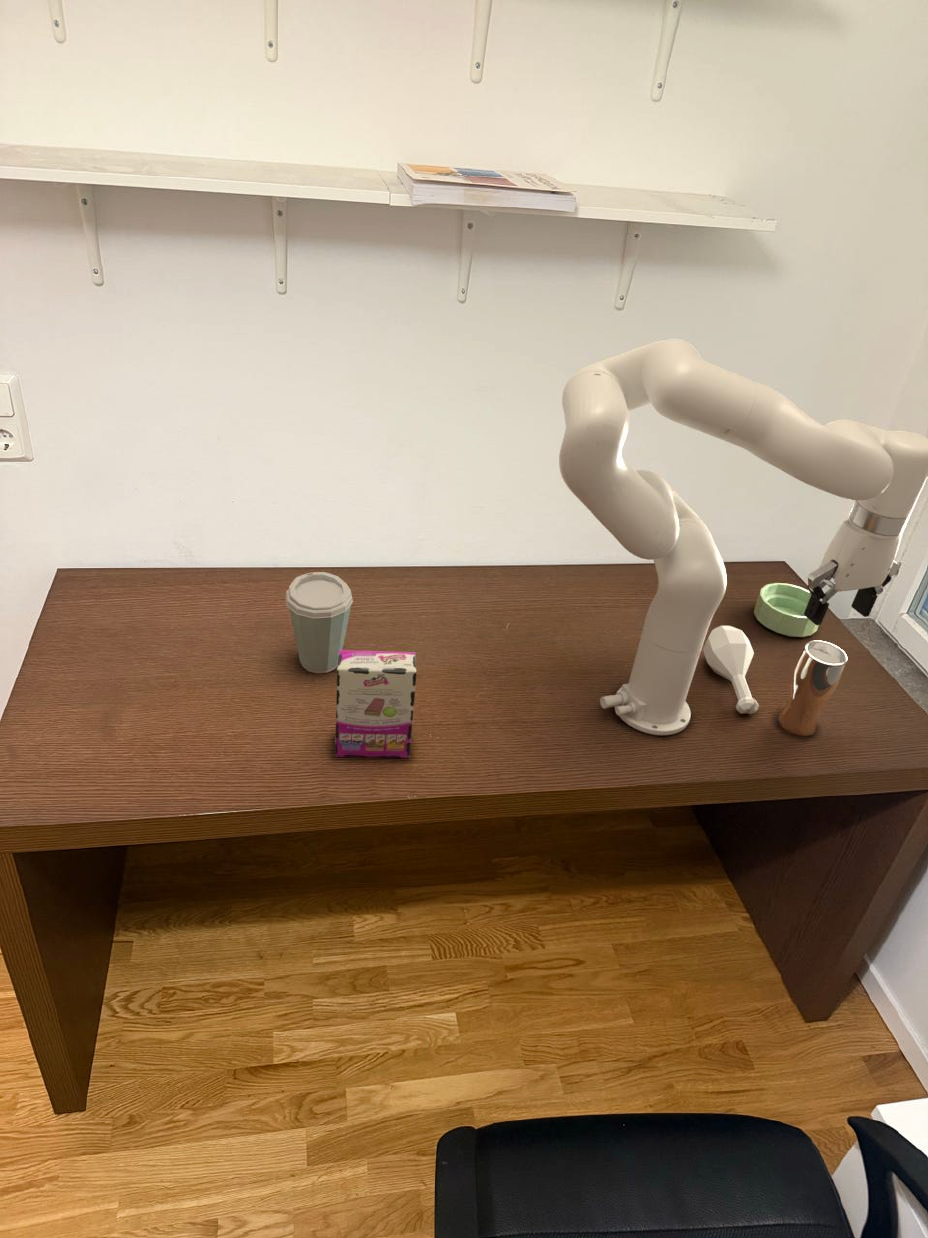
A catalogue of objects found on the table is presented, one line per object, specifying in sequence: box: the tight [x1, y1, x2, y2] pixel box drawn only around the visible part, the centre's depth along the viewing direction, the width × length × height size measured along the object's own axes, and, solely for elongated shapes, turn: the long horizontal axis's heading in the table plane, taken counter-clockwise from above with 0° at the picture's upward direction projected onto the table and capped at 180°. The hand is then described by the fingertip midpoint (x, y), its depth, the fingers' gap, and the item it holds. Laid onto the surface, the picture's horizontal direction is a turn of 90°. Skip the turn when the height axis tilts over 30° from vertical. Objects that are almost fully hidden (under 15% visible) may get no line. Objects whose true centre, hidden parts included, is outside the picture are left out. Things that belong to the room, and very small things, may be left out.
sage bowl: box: [753, 582, 820, 638], centre depth 177 cm, size 12×12×5 cm
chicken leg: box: [702, 625, 760, 715], centre depth 157 cm, size 8×18×8 cm, turn 5°
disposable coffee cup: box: [285, 571, 354, 675], centre depth 147 cm, size 11×11×15 cm
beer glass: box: [777, 640, 848, 737], centre depth 148 cm, size 7×7×15 cm
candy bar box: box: [334, 649, 417, 759], centre depth 132 cm, size 11×5×16 cm, turn 95°
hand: (835, 616), depth 139 cm, fingers open, 9 cm apart
